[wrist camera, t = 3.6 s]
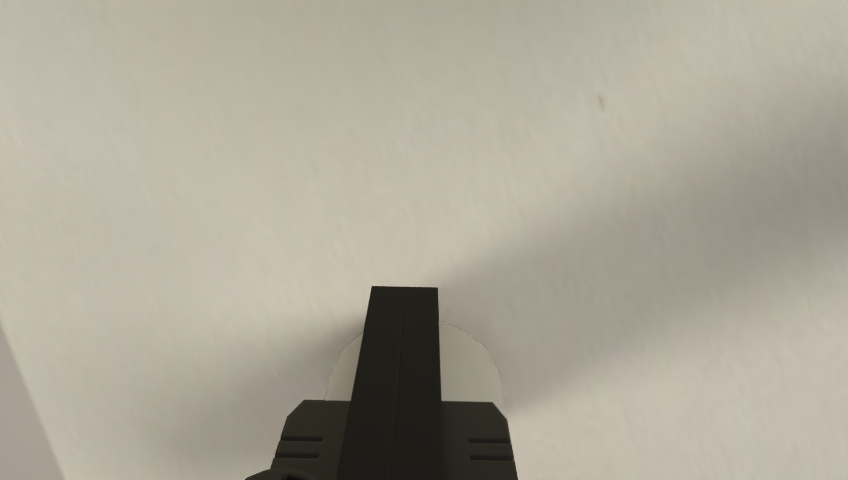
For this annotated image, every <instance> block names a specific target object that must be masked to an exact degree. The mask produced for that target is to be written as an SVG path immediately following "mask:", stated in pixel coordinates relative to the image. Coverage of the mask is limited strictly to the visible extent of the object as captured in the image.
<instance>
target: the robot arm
mask: <svg viewBox="0 0 848 480" xmlns="http://www.w3.org/2000/svg"><path fill="white" fill-rule="evenodd" d="M245 480H518V477H517V472H516V466H515V461H514V455H513V450H512V445H511V439H510V434H509V428H508V423H507V419H506V418H505V417H504V415H503V414H502V413H501V412H500V410H499V409H498V408H497V407H496V406H495V404H494V403H493V402H472V401H442V398H441V369H440V340H439V311H438V288H433V287H387V286H372V288H371V294H370V299H369V305H368V310H367V315H366V321H365V326H364V331H363V337H362V342H361V347H360V353H359V358H358V364H357V369H356V374H355V380H354V385H353V390H352V396H351V401H338V400H303V401H302V402H301V403H300V404H299V405H298V406H297V407H296V408H295V409H294V410H293V411H292V412H291V413H290V414H289V415H288V417H287V419H286V422H285V425H284V428H283V431H282V434H281V440H280V441H279V443H278V446H277V450H276V453H275V458H274V459H273V462H272V465H271V468H270V470H265V471H263V472H260V473H257V474H255V475H252V476H250V477H248V478H246V479H245Z"/></svg>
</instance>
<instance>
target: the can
mask: <svg viewBox="0 0 848 480" xmlns="http://www.w3.org/2000/svg"><path fill="white" fill-rule="evenodd" d="M362 337H363V332H362V333H361V334H360V335H359V336H358V337H357V338H356V339H354V340H353V341H352V342H351V343H350V344H349V345H348V346H347V347H346V348H345V349H344V350H343V351H342V353H341V355H340V357H339V358H338V360H337V362H336V364H335V366H334V368H333V370H332V372H331V376H330V380H329V384H328V388H327V392H326V396H325V400H338V401H351V396H352V390H353V385H354V380H355V374H356V369H357V364H358V358H359V353H360V347H361V342H362ZM439 340H440V369H441V398H442V401H472V402H493V403H494V404H495V406H496V407H497V408H498V409H499V410H500V412H501V413H502V414H503V415H504V417H505V418H506V419H507V415H506V409H505V404H504V398H503V392H502V386H501V380H500V375H499V370H498V369H497V367H496V365H495V363H494V361H493V360H492V358H491V356H490V354H489V353H488V351H487V349H485V348H484V347H483V346H482V345H481V344H480V343H479V342H478V341H476V340H475V339H474V338H473V337H472V336H471V335H470V334H469V333H467V332H465V331H463V330H460V329H458V328H456V327H454V326H452V325H449V324H447V323H445V322H443V321H439ZM507 423H508V421H507ZM508 428H509V427H508ZM509 434H510V432H509ZM510 439H511V438H510ZM511 445H512V444H511Z"/></svg>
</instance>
